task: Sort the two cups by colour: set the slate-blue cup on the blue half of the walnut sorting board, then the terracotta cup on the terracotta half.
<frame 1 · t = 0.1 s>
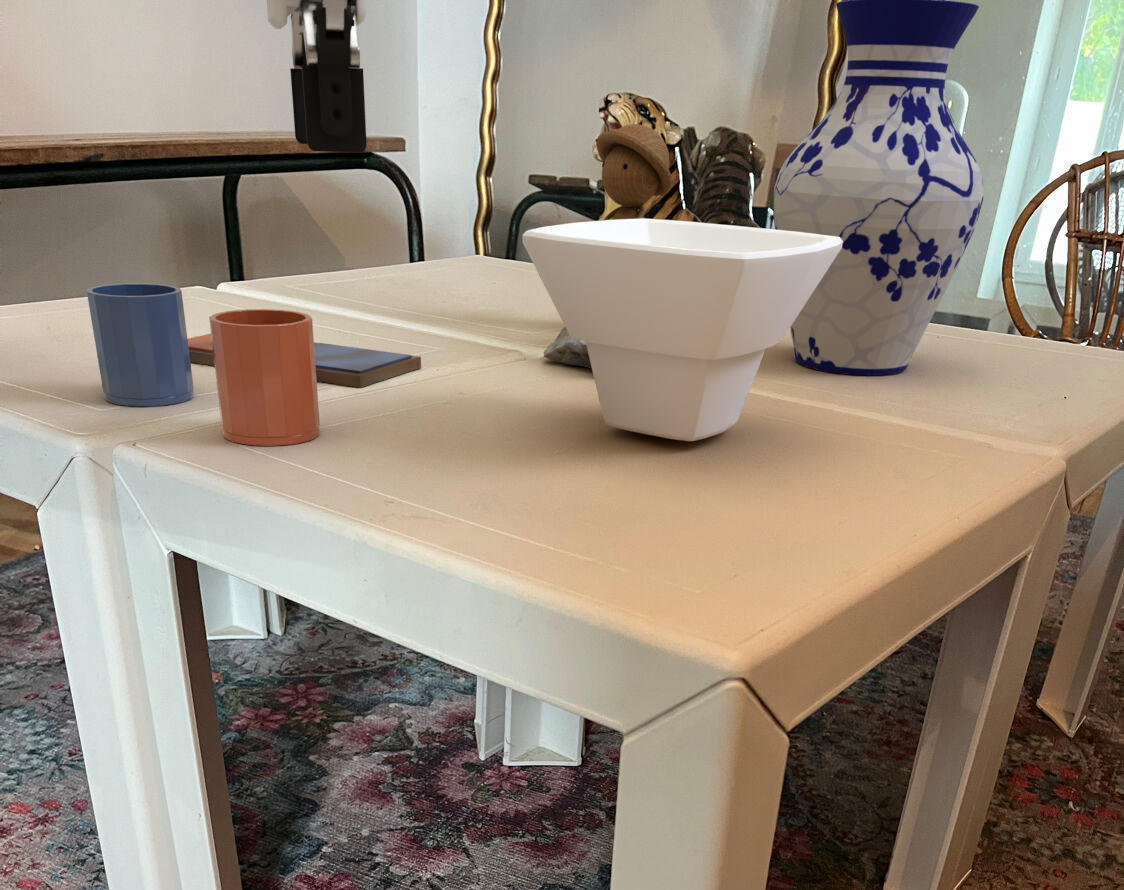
hand: (329, 147, 66), 19 cm above the table, tool pointing down, fingers open, 9 cm apart
vase: (849, 366, 112), on the table
bowl: (670, 436, 86), on the table
blue cup: (149, 396, 90), on the table
figurine: (623, 332, 124), on the table
terracotta cup: (271, 433, 81), on the table
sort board: (289, 362, 103), on the table
rock: (599, 371, 105), on the table
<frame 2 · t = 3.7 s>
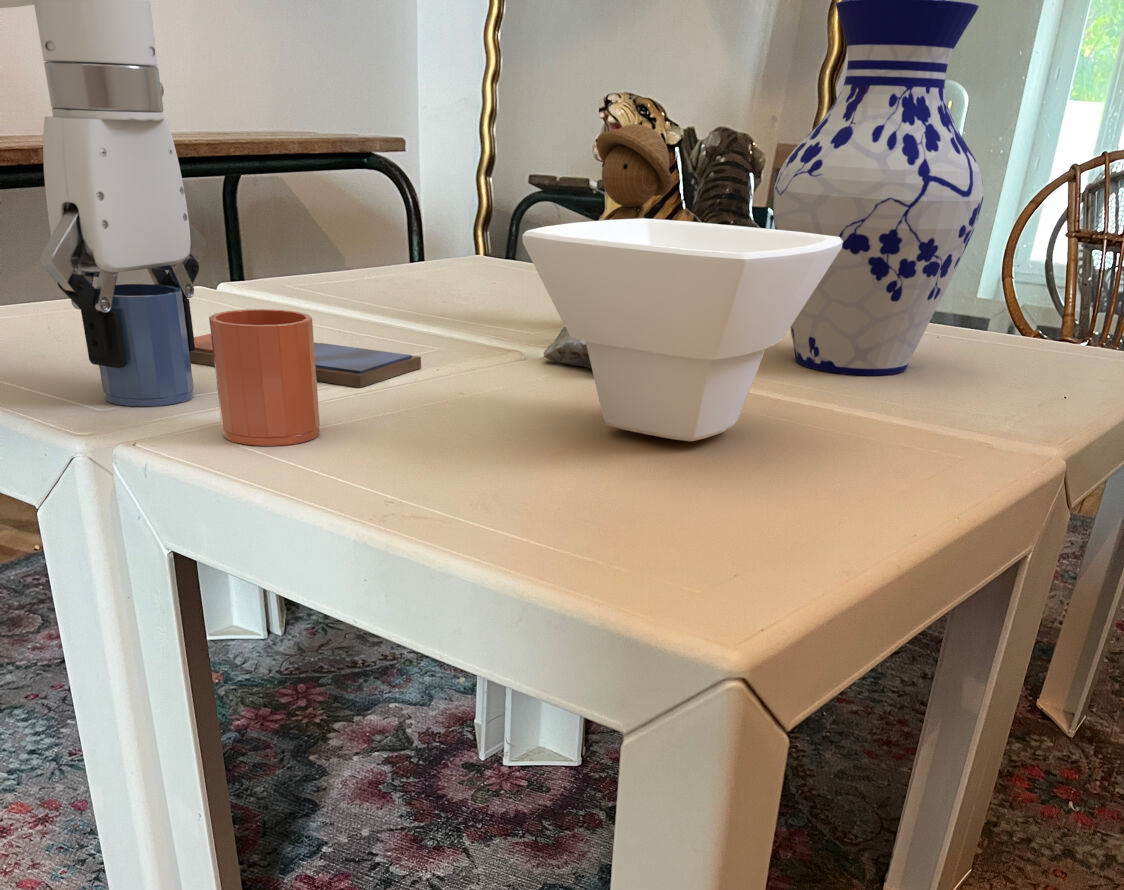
hand: (144, 355, 88), 3 cm above the table, tool pointing down, fingers closed on blue cup, 6 cm apart
blue cup: (149, 396, 90), on the table, touching gripper
everything else where it was.
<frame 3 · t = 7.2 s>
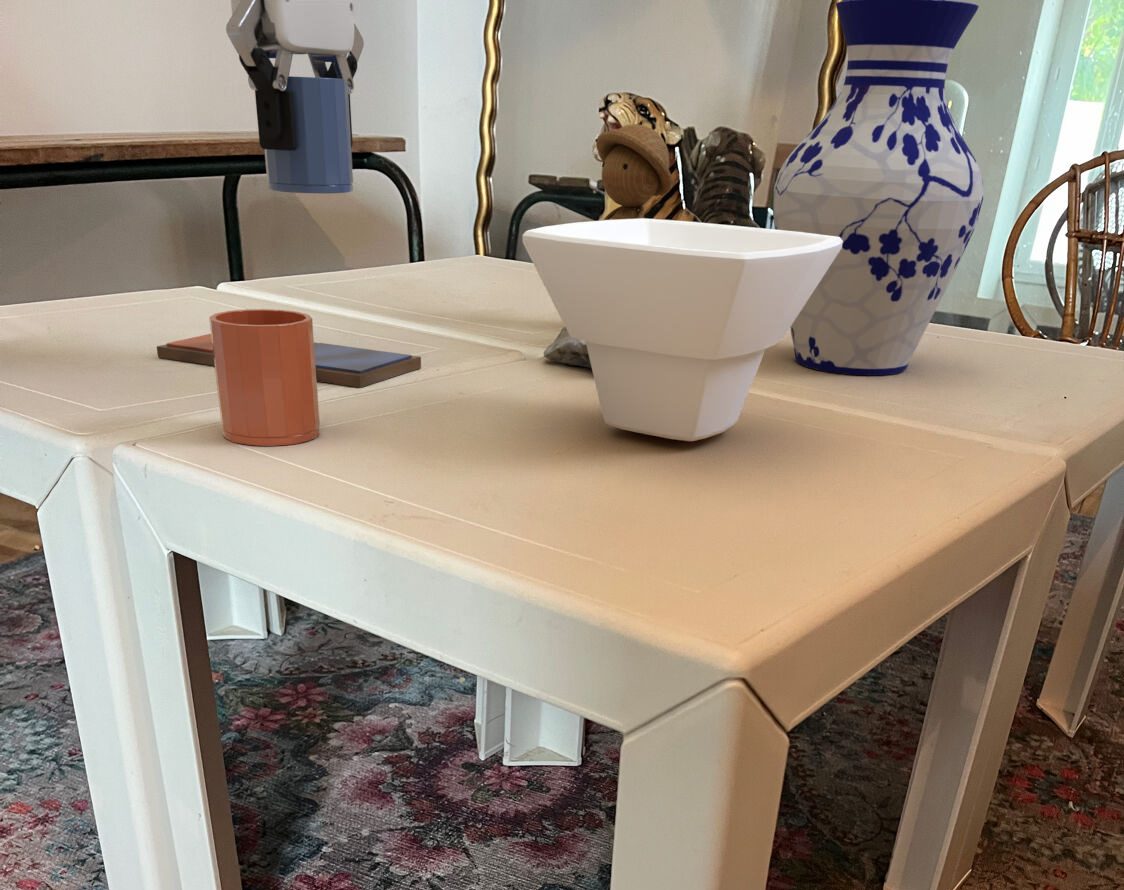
hand: (307, 146, 91), 18 cm above the table, tool pointing down, fingers closed on blue cup, 6 cm apart
blue cup: (311, 190, 93), point 15 cm above the table, touching gripper
everything else where it was.
when the fingers open (4 cm above the table, at t = 10.8 s): blue cup stays where it is, resting on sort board.
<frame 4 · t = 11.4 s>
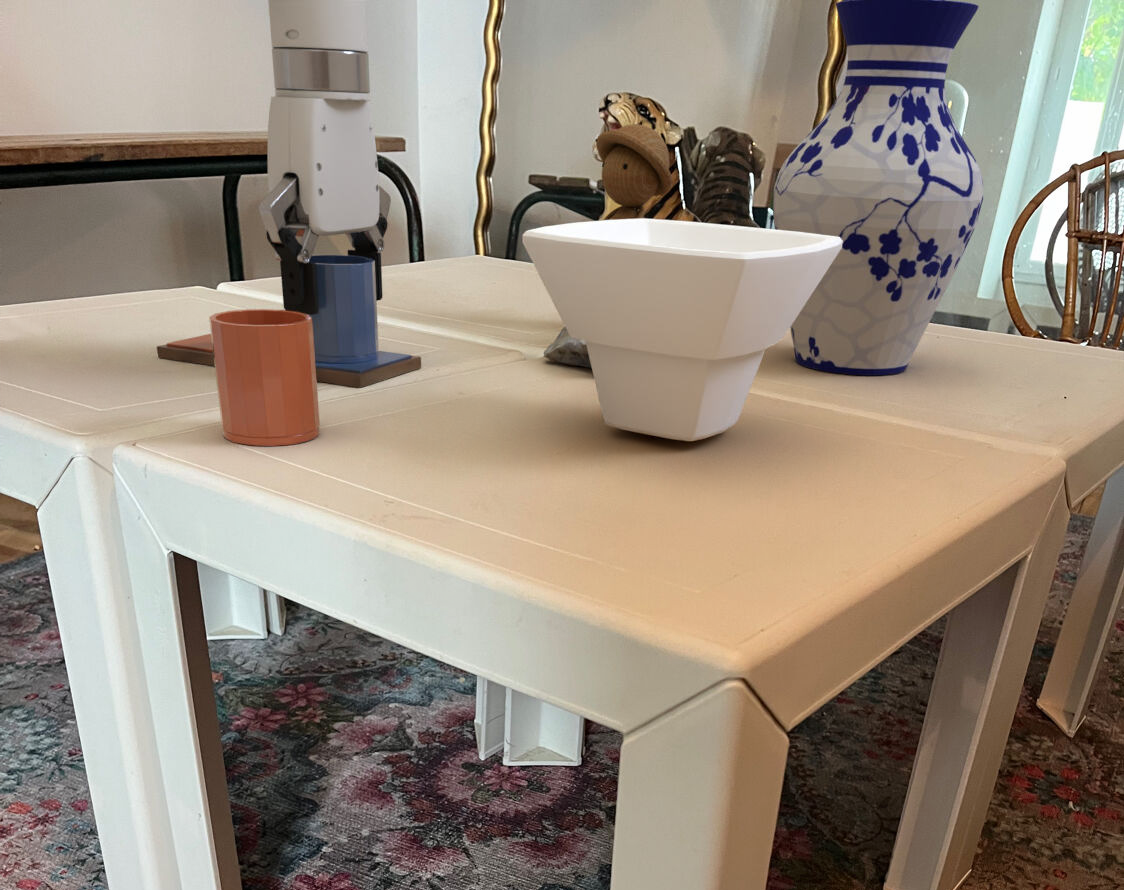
hand: (335, 305, 98), 5 cm above the table, tool pointing down, fingers open, 9 cm apart
blue cup: (339, 356, 100), point 1 cm above the table, touching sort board
everything else where it was.
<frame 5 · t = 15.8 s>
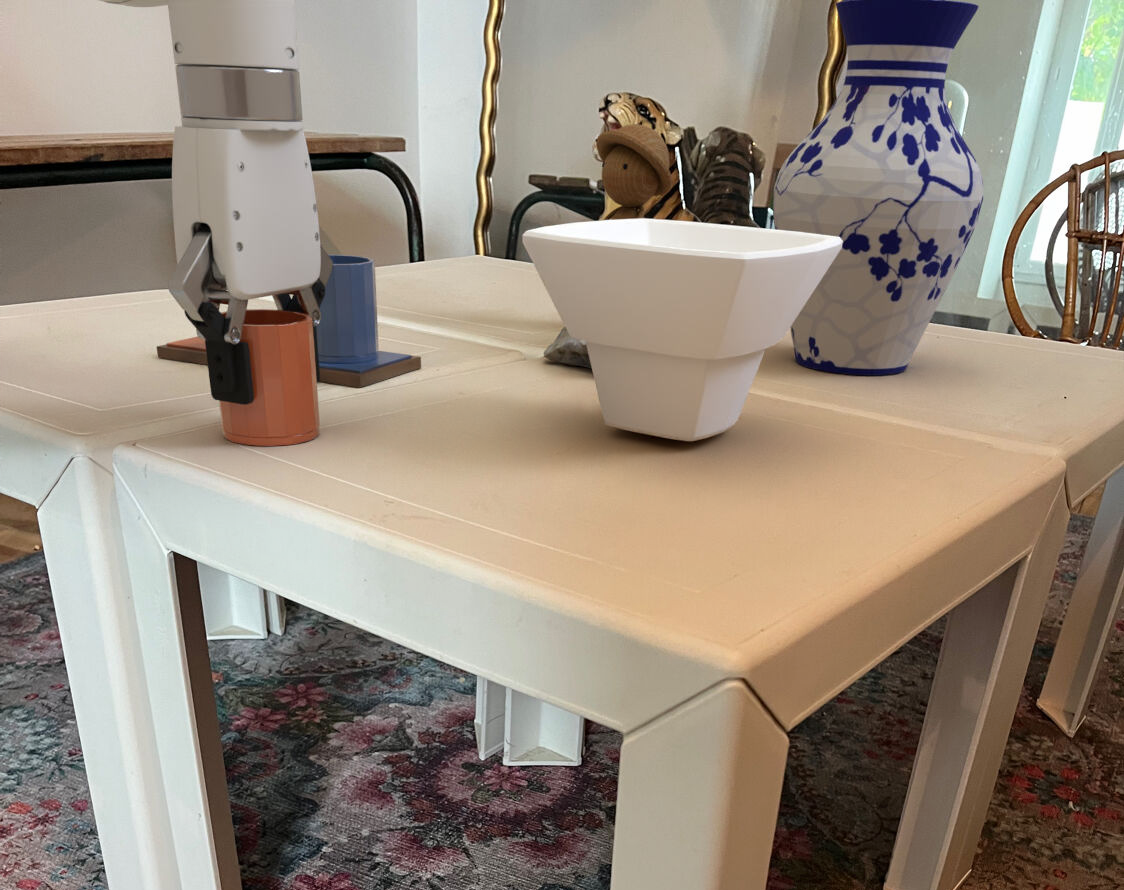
hand: (267, 389, 80), 3 cm above the table, tool pointing down, fingers closed on terracotta cup, 6 cm apart
terracotta cup: (271, 433, 81), on the table, touching gripper
everything else where it was.
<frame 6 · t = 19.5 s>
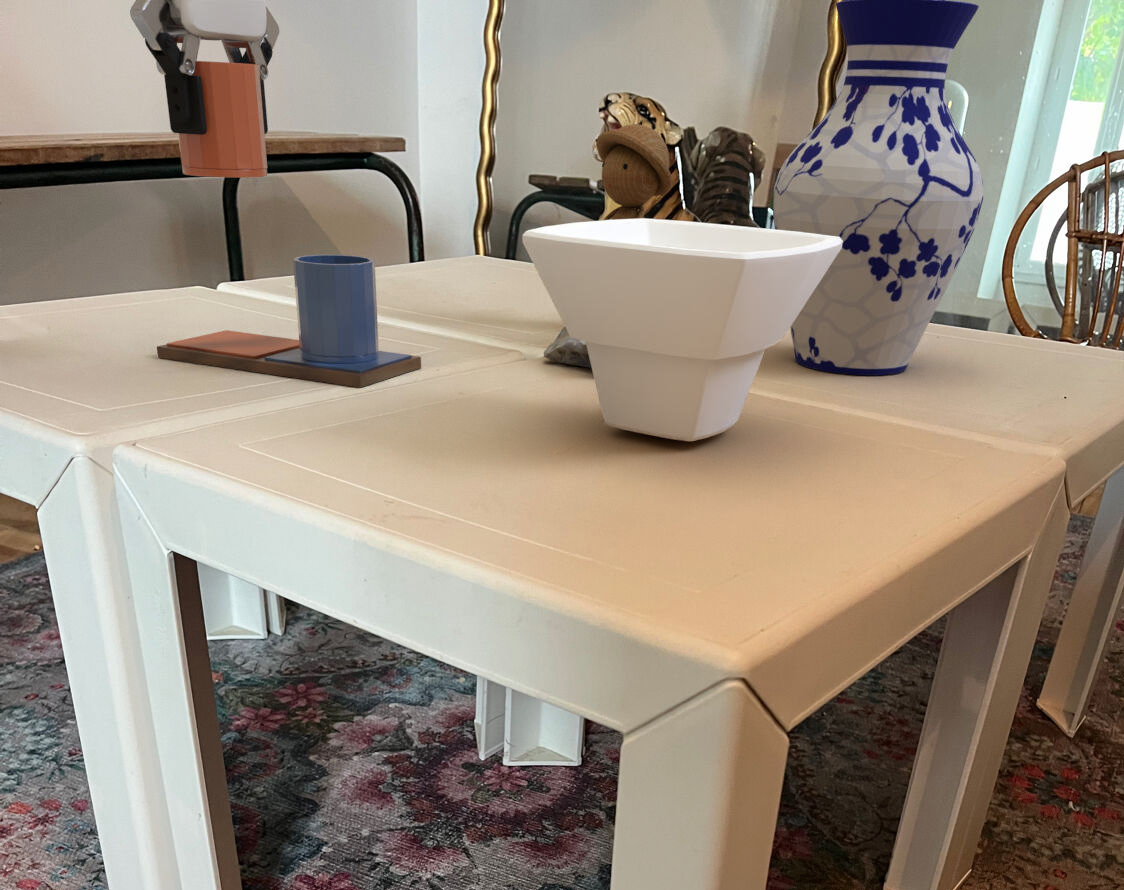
hand: (220, 131, 92), 19 cm above the table, tool pointing down, fingers closed on terracotta cup, 6 cm apart
terracotta cup: (225, 174, 94), point 15 cm above the table, touching gripper
everything else where it was.
when the fingers open (4 cm above the table, at t = 23.6 s): terracotta cup stays where it is, resting on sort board.
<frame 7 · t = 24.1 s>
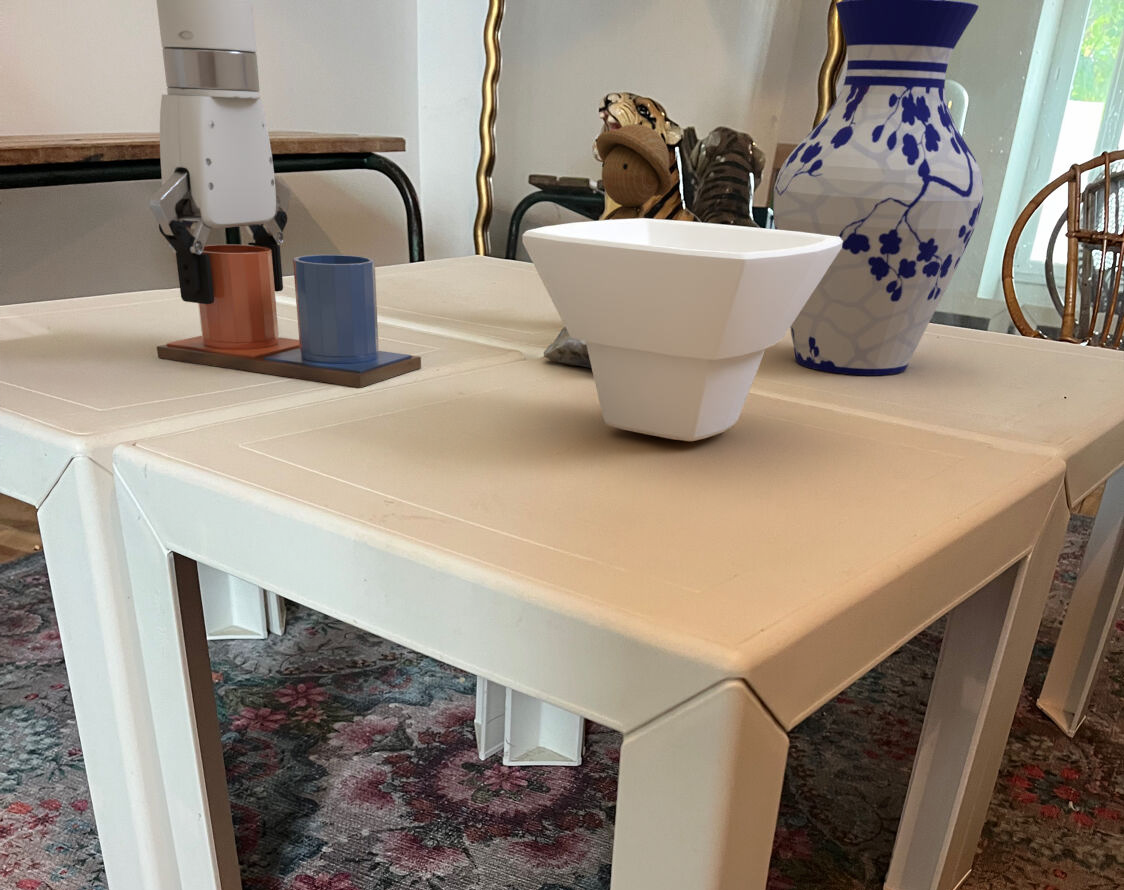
hand: (234, 295, 102), 5 cm above the table, tool pointing down, fingers open, 9 cm apart
terracotta cup: (241, 342, 104), point 1 cm above the table, touching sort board
everything else where it was.
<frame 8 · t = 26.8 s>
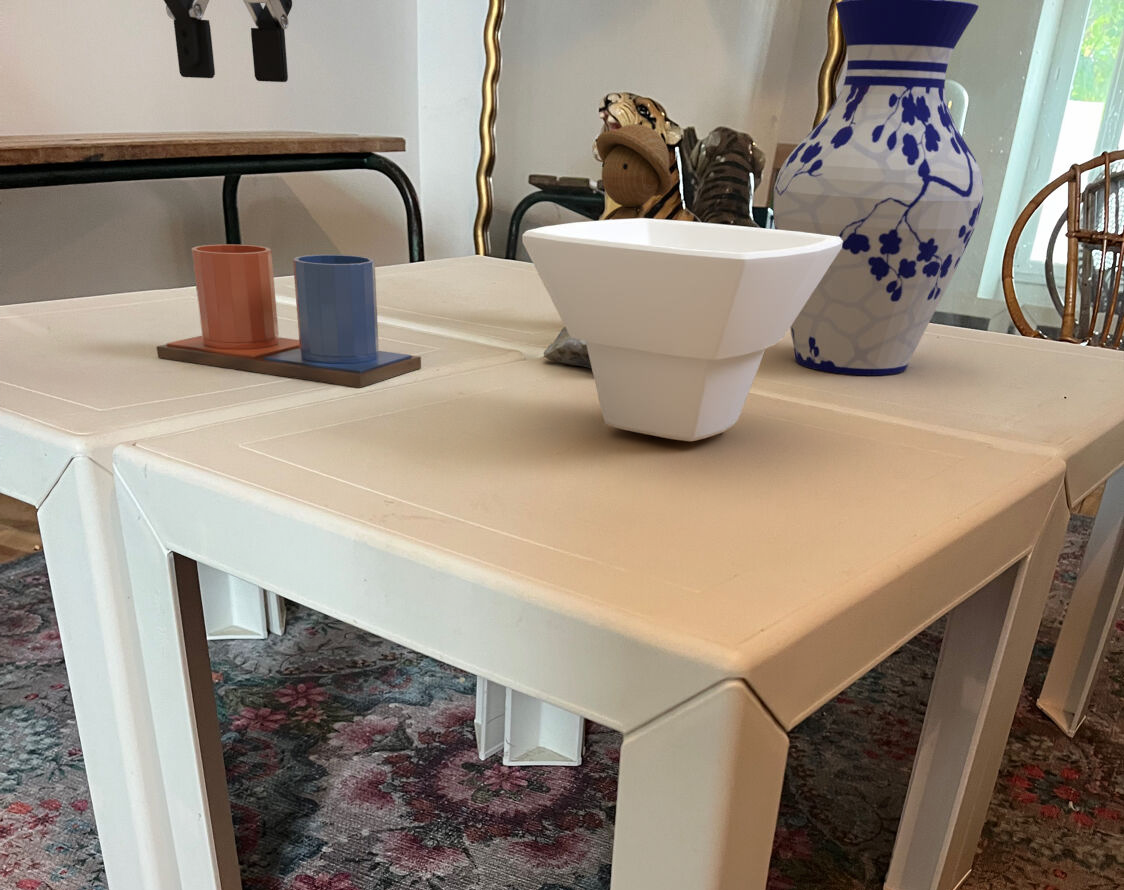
hand: (236, 79, 96), 22 cm above the table, tool pointing down, fingers open, 9 cm apart
nothing on the table moved.
at the end: blue cup inside the target area on the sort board (0.2 cm from its centre), point 1.2 cm above the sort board's base; terracotta cup inside the target area on the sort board (0.4 cm from its centre), point 1.2 cm above the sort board's base; terracotta cup tilted 0° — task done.
